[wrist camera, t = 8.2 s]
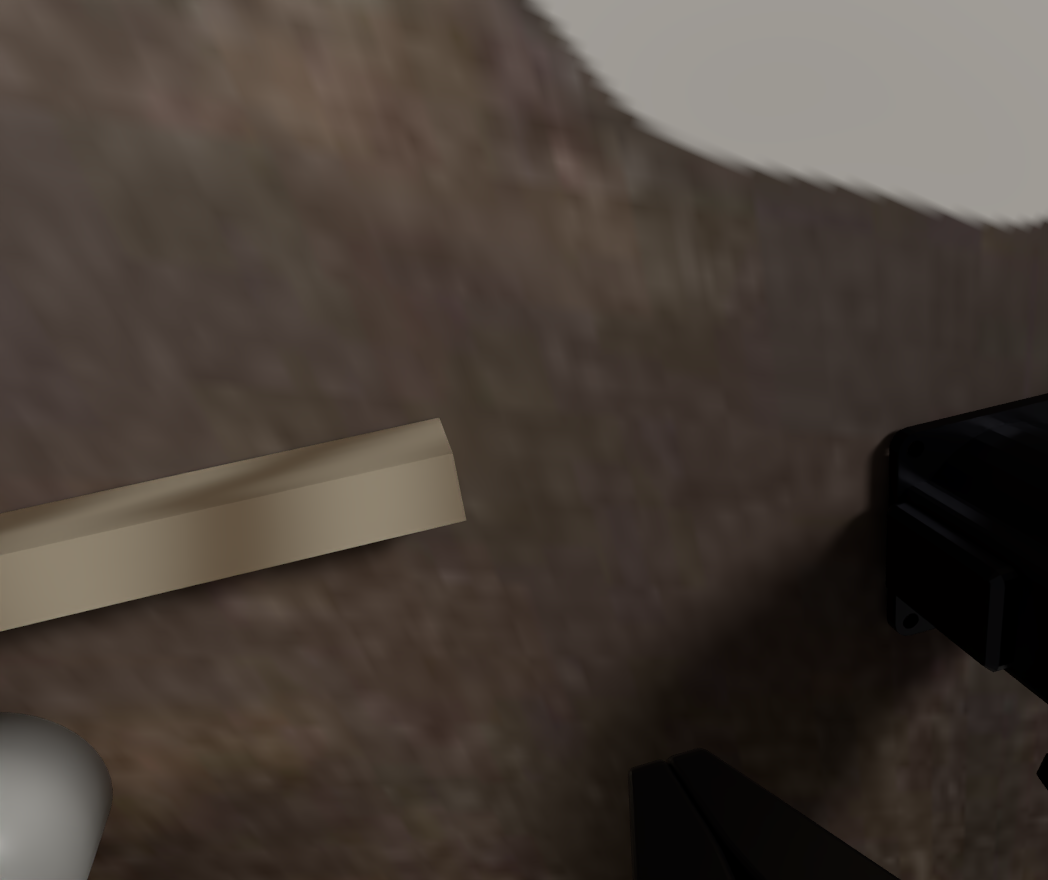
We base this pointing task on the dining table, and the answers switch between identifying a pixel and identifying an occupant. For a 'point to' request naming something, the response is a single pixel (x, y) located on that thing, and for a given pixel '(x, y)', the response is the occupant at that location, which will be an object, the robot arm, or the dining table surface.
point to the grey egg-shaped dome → (49, 800)
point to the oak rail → (224, 521)
